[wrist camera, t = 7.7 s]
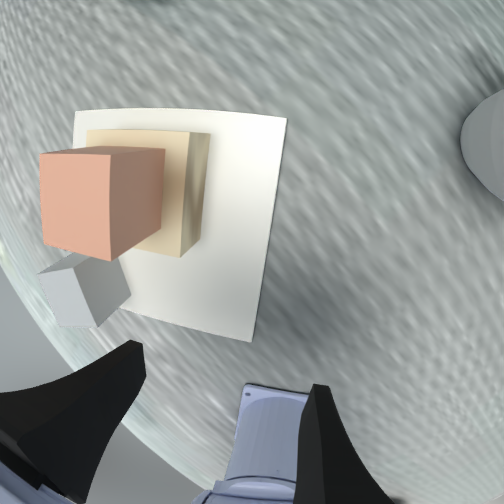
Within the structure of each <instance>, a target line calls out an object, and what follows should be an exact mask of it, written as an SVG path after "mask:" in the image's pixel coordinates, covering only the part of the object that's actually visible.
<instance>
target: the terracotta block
mask: <svg viewBox="0 0 504 504" xmlns="http://www.w3.org/2000/svg"><path fill="white" fill-rule="evenodd" d="M164 161H165V149H163V148H148V147H127V146H93V147H84V148H76V149H68V150H61V151H54V152H48V153H42V154H40V202H41V217H42V229H43V239H44V244H46V245H50V246H53V247H57V248H61V249H64V250H68V251H72V252H75V253H79V254H83V255H87V256H91V257H95V258H98V259H102V260H106V261H110V262H111V261H113V260H114V259H116V258H117V257H119V256H120V255H122V254H123V253H125V252H126V251H128V250H129V249H131V248H132V247H134V246H135V245H137V244H138V243H140V242H141V241H143V240H144V239H146V238H147V237H149V236H150V235H152V234H153V233H155V232H157V231H158V230H160V229H161V210H162V190H163V175H164Z"/></svg>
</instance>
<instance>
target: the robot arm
mask: <svg viewBox="0 0 504 504" xmlns="http://www.w3.org/2000/svg"><path fill="white" fill-rule="evenodd" d="M145 378H146V369H145V361H144V353H143V344H142V343H139V342H136V341H133V340H129V341H127V342H125V343H124V344H122V345H121V346H119V347H117V348H116V349H114V350H113V351H111V352H109V353H108V354H106V355H104V356H103V357H101V358H99V359H98V360H96V361H94V362H93V363H91V364H89V365H87V366H85V367H83V368H82V369H80V370H78V371H76V372H74V373H72V374H70V375H67V376H65V377H63V378H60V379H58V380H55V381H53V382H50V383H46V384H43V385H40V386H36V387H33V388H29V389H24V390H19V391H13V392H4V393H0V504H74V503H72V502H70V501H69V500H67V499H65V498H64V497H66V498H68V499H70V500H71V501H73V502H75V503H77V504H84V503H86V499H87V496H88V493H89V489H90V486H91V483H92V480H93V477H94V475H95V472H96V469H97V467H98V464H99V462H100V460H101V457H102V455H103V453H104V451H105V448H106V446H107V444H108V442H109V440H110V438H111V436H112V434H113V433H114V431H115V429H116V427H117V426H118V425H119V423H120V422H121V420H122V418H123V417H124V415H125V414H126V412H127V411H128V409H129V408H130V406H131V405H132V403H133V402H134V400H135V398H136V397H137V395H138V393H139V391H140V389H141V387H142V385H143V383H144V381H145ZM234 440H235V444H234V447H233V451H232V454H231V458H230V461H229V464H228V468H227V471H226V475H225V478H224V481H218V480H217V481H216V482H215V485H214V488H213V490H205V491H203V492H202V493H201V494H199V495H198V496H197V497H195V499H194V500H193V501H192V502H191V504H395V503H394V502H393V501H392V500H391V499H390V498H389V497H388V496H387V495H386V494H385V493H384V491H383V490H382V489H381V488H380V486H379V485H378V484H377V483H376V481H375V480H374V479H373V478H372V476H371V475H370V473H369V472H368V470H367V469H366V467H365V466H364V464H363V463H362V461H361V460H360V458H359V456H358V454H357V453H356V451H355V449H354V447H353V445H352V443H351V441H350V439H349V437H348V435H347V433H346V431H345V428H344V426H343V424H342V421H341V419H340V416H339V414H338V411H337V408H336V406H335V403H334V400H333V397H332V394H331V390H330V388H329V386H326V385H319V384H313V386H312V389H311V391H310V394H309V395H304V394H298V393H292V392H286V391H280V390H275V389H270V388H265V387H260V386H255V385H250V384H247V385H245V386H244V388H243V393H242V399H241V404H240V410H239V415H238V421H237V426H236V432H235V437H234ZM59 494H60V495H62V496H64V497H62V496H60V495H59Z"/></svg>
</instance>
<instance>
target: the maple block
mask: <svg viewBox="0 0 504 504" xmlns="http://www.w3.org/2000/svg"><path fill="white" fill-rule="evenodd" d="M210 135H211V134H209V133H198V132H184V131H167V130H142V129H98V130H87V136H86V147H93V146H127V147H148V148H163V149H165V161H164V175H163V190H162V210H161V229H160V230H158V231H157V232H155V233H153V234H152V235H150V236H149V237H147V238H146V239H144V240H143V241H141V242H140V243H138V244H137V245H135V246H134V247H132V248H135V249H140V250H144V251H149V252H154V253H158V254H163V255H168V256H172V257H177V258H181V257H182V256H183V255H184V254H185V253H186V252H187V251H188V250H189V249H190V248H191V247H192V246H193V245H194V244H196V243H197V242H198V241H199V240H200V235H201V222H202V211H203V200H204V189H205V179H206V170H207V160H208V151H209V143H210Z"/></svg>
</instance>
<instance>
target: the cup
mask: <svg viewBox="0 0 504 504" xmlns="http://www.w3.org/2000/svg"><path fill="white" fill-rule="evenodd" d="M460 143H461V150H462V154H463V157H464V160H465V162H466V164H467V166H468V167H469V169H470V170H471V171H472V173H473V174H474V175H475V176H476V177H477V178H478V179H479V180H480V181H481V183H482V184H483V185H484V186H485V187H486V188H487V189H488V190H489V191H490V192H491V193H493V194H494V195H495V196H497V197H498V198H499V199H501V200H502V201H503V202H504V89H502V90H500V91H499V92H497V93H495V94H493V95H492V96H490V97H488V98H486V99H485V100H483V101H482V102H481V103H480V104H479V105H478V106H477V107H476V108H475V109H474V110H473V112H472V113H471V114H470V115H469V116H468V117H467V118H466V120H465V121H464V124H463V126H462V130H461V136H460Z"/></svg>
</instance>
